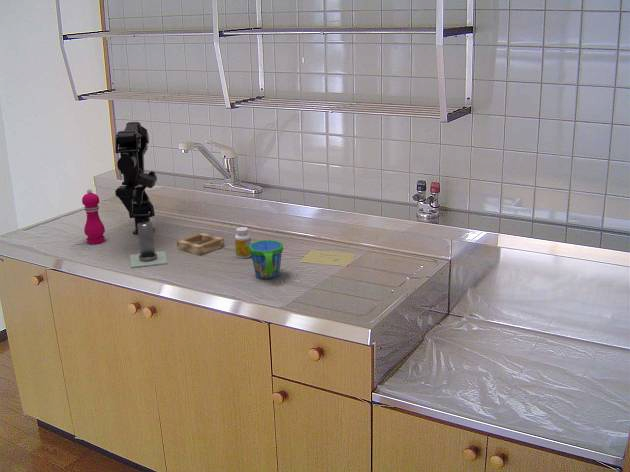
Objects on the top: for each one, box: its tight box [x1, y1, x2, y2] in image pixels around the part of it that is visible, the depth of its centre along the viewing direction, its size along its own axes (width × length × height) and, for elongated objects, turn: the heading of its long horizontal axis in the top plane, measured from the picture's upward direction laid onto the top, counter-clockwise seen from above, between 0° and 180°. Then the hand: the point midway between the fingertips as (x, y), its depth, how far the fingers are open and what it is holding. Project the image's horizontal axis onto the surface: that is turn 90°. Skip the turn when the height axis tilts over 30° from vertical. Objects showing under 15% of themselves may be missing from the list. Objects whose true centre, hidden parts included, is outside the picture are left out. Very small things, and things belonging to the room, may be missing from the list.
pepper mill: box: [81, 188, 106, 245], centre depth 254 cm, size 7×7×20 cm
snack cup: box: [249, 239, 284, 280], centre depth 219 cm, size 16×10×10 cm
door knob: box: [137, 221, 157, 262], centre depth 235 cm, size 6×6×12 cm
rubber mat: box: [129, 250, 169, 269], centre depth 237 cm, size 12×12×1 cm
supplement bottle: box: [234, 226, 252, 259], centre depth 237 cm, size 5×5×10 cm
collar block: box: [176, 232, 225, 257], centre depth 248 cm, size 12×12×3 cm
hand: (135, 209), depth 250 cm, fingers open, 9 cm apart
